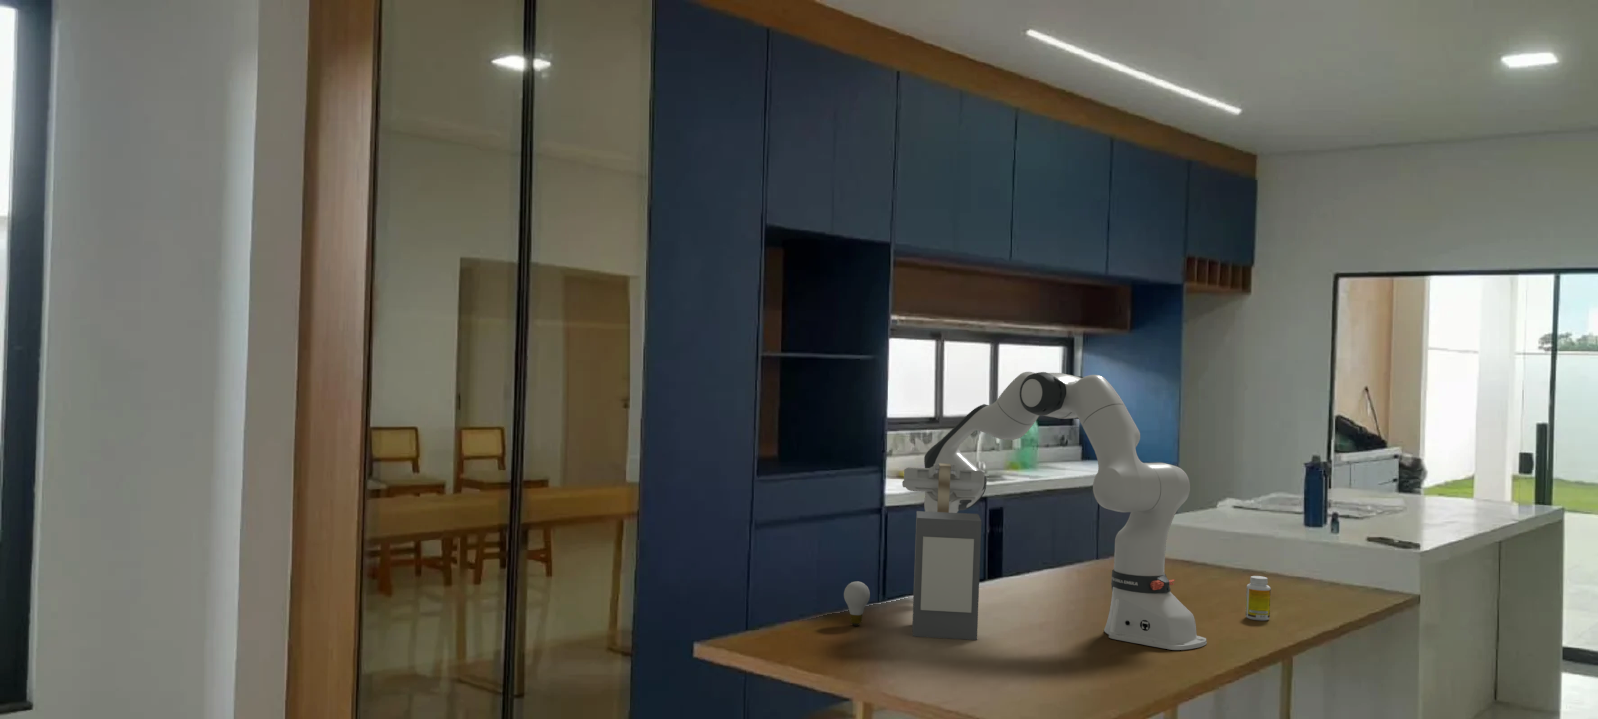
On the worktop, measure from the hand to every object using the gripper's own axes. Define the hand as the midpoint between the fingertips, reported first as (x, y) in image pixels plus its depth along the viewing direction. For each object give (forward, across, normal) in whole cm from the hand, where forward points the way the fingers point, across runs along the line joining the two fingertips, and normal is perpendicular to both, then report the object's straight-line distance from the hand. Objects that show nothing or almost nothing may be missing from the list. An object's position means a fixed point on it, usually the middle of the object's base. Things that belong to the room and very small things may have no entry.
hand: (945, 467), depth 298 cm
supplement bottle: (-21, +78, +28) cm, 85 cm away
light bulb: (+7, -20, +44) cm, 49 cm away
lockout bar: (-10, 0, +6) cm, 12 cm away
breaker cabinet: (+8, 0, +44) cm, 45 cm away
